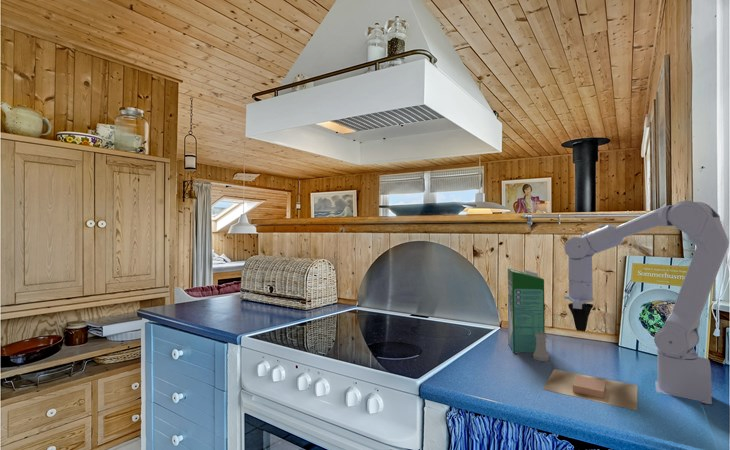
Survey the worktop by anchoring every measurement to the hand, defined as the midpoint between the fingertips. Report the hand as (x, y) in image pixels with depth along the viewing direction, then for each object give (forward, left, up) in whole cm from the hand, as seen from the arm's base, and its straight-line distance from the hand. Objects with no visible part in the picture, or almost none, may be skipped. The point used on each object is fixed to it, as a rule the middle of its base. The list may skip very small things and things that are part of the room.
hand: (581, 330), depth 104 cm
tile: (-4, +14, -8) cm, 17 cm away
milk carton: (+16, -7, -10) cm, 20 cm away
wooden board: (-4, +16, -10) cm, 19 cm away
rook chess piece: (+10, +1, -10) cm, 14 cm away
